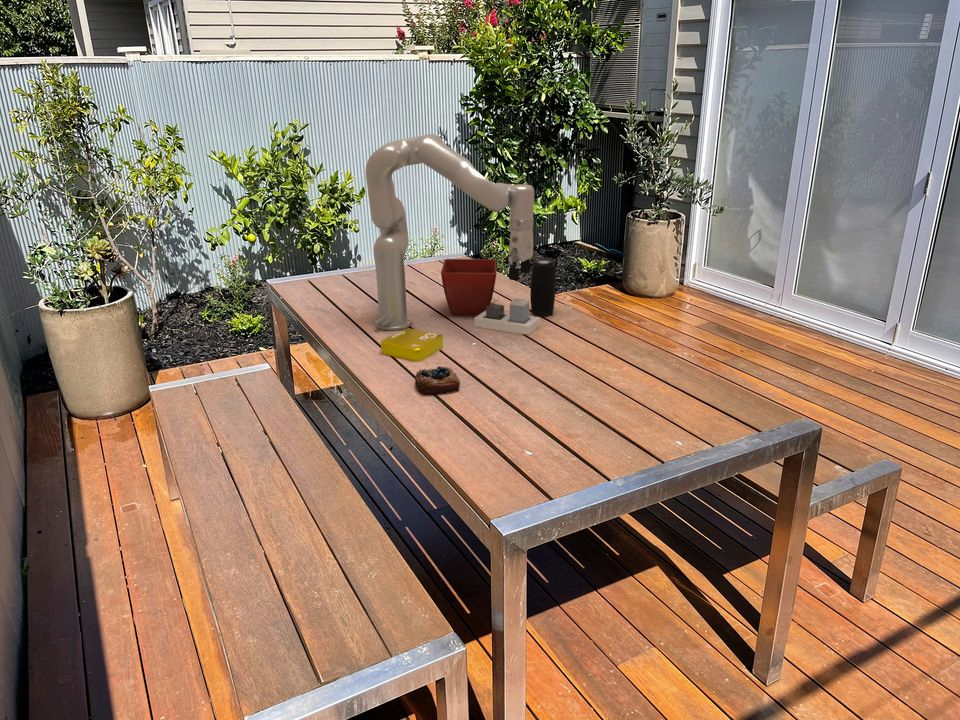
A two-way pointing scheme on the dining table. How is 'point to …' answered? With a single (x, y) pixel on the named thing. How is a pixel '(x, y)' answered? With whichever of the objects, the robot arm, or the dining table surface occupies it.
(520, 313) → the plug
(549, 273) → the portable speaker
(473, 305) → the plant pot
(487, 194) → the robot arm
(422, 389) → the pastry
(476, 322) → the power strip
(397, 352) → the element tile
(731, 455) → the dining table surface
